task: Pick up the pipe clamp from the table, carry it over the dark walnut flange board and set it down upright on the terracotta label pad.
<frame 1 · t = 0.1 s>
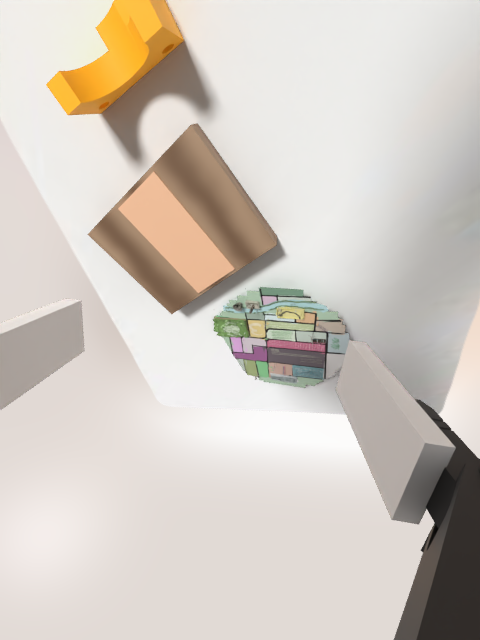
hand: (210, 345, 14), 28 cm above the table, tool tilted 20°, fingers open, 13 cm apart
flange board: (185, 231, 39), on the table
city model: (276, 334, 50), on the table
pipe clamp: (127, 55, 29), on the table
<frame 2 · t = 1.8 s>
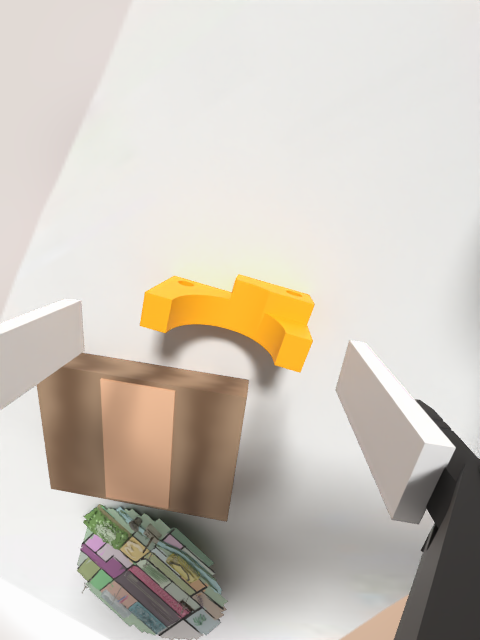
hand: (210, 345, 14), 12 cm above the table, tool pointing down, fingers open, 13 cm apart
flange board: (149, 427, 31), on the table
city model: (148, 556, 39), on the table
pipe clamp: (237, 297, 26), on the table
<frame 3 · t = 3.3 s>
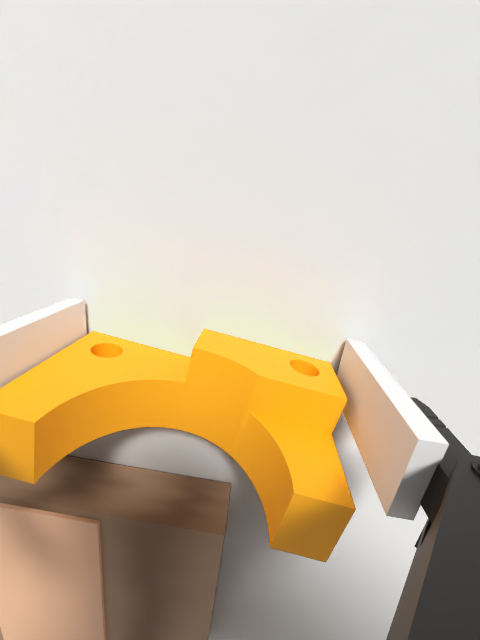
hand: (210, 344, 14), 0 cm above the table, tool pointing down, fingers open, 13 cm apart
flange board: (79, 543, 20), on the table
pipe clamp: (205, 365, 15), on the table, touching gripper
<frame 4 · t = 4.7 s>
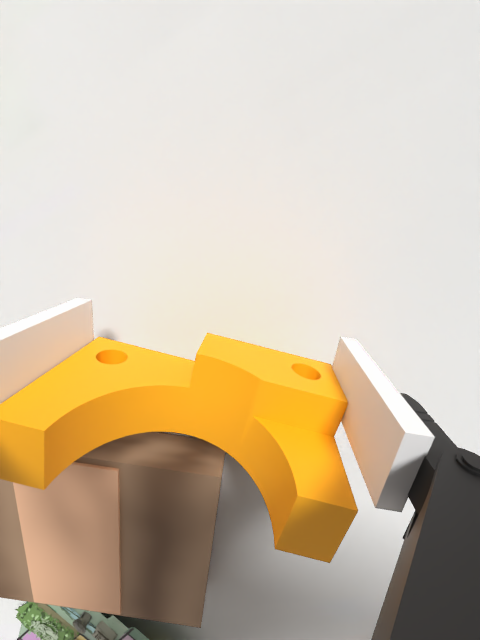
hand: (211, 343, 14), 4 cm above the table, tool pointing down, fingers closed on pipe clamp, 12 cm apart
flange board: (95, 502, 23), on the table
pipe clamp: (208, 369, 15), point 3 cm above the table, touching gripper
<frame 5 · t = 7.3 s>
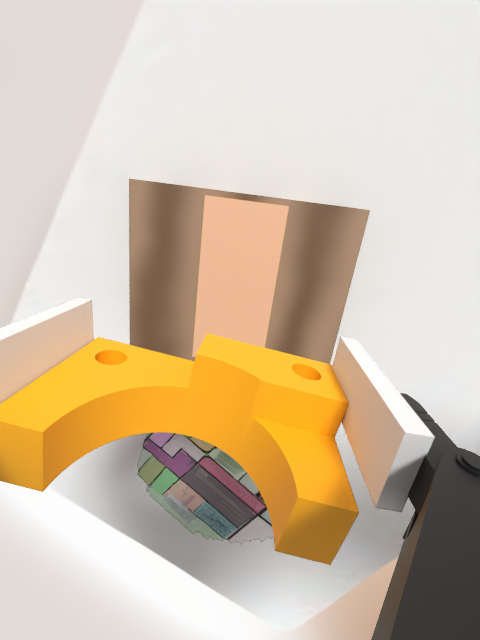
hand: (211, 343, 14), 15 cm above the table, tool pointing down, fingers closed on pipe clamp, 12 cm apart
flange board: (238, 282, 29), on the table
city model: (216, 453, 37), on the table
pipe clamp: (208, 370, 15), point 15 cm above the table, touching gripper
when the fingers open (5 cm above the table, at t = 10.2 s): pipe clamp drops 1 cm, resting on flange board.
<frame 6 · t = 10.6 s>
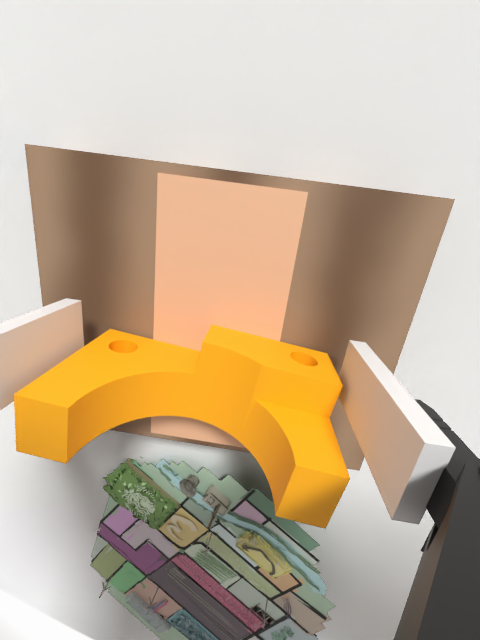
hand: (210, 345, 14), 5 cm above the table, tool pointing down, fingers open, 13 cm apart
flange board: (224, 314, 18), on the table
city model: (198, 541, 27), on the table
pipe clamp: (212, 359, 16), point 3 cm above the table, touching flange board
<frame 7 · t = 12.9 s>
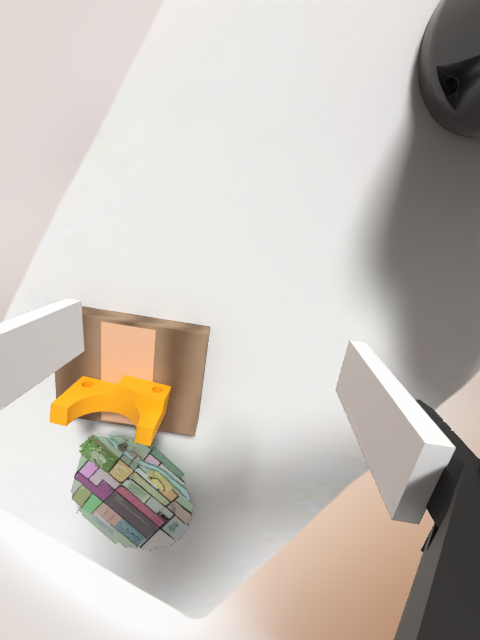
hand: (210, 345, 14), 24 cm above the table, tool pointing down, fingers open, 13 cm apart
flange board: (136, 366, 41), on the table
city model: (132, 482, 49), on the table
pipe clamp: (126, 388, 39), point 3 cm above the table, touching flange board
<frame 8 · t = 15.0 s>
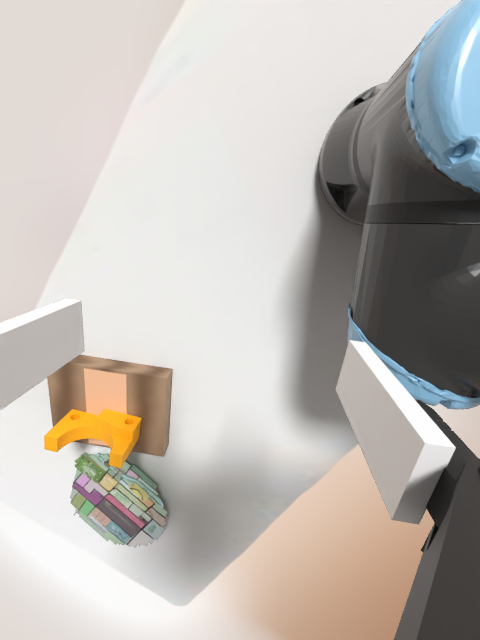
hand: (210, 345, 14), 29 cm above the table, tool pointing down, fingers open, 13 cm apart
flange board: (115, 399, 50), on the table
city model: (118, 490, 59), on the table
pipe clamp: (107, 418, 48), point 3 cm above the table, touching flange board
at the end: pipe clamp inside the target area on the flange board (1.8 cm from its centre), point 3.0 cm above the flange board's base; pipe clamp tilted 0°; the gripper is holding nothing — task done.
